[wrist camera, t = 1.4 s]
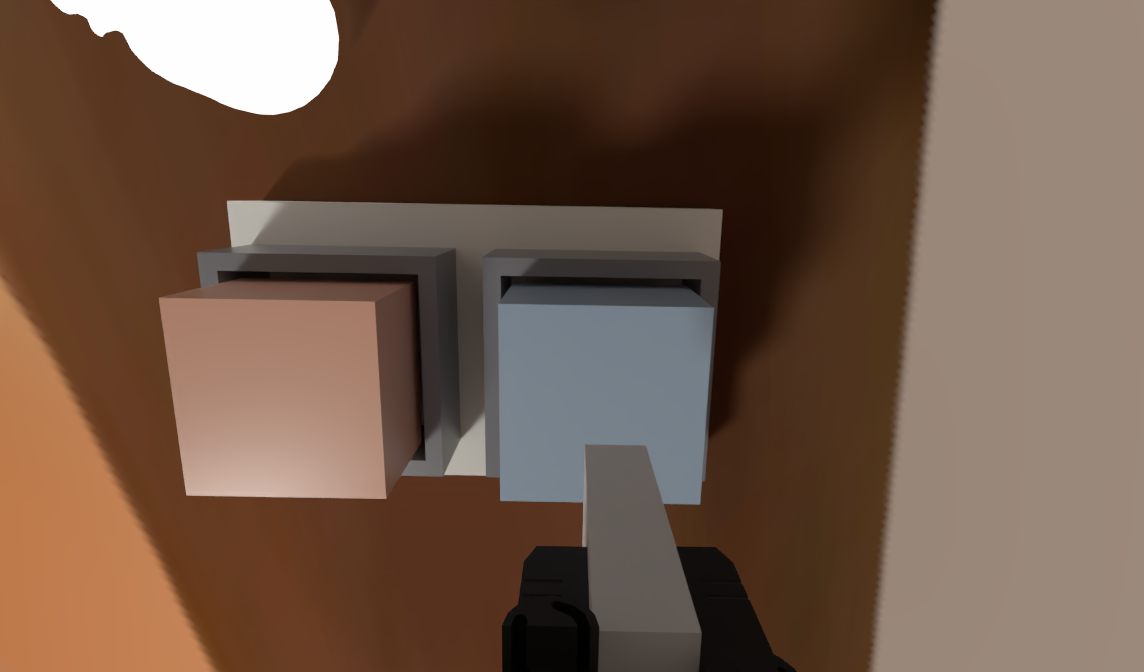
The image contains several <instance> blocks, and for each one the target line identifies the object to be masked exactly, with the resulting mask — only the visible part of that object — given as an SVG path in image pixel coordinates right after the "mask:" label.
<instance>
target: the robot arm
mask: <svg viewBox="0 0 1144 672" xmlns="http://www.w3.org/2000/svg"><path fill="white" fill-rule="evenodd" d="M502 669H503V672H796V670H795V669H794V668H793V667H792V666H790V665H789V664H788V663H786V662H785V661H784V660H782V659H781V658H780V657H778V656H776V655H774V654H773V652H772V650H771V647H770V645H769V643H768V641H767V638H766V636H765V634H764V632H763V629H762V627H761V625H760V623H759V620H758V618H757V616H756V614H755V611H754V609H753V607H752V605H751V602H750V600H748V596H747V593H746V591H745V589H744V587H743V585H741V580H740V578H739V575H738V573H737V571H736V569H735V566H734V564H733V562H731V561H730V560H729V559H728V558H727V557H726V556H725V555H724V554H722V553H721V552H720V551H719V550H718V549H717V548H716V547H676V545H675V542H674V538H673V535H672V531H671V528H670V525H669V521H668V518H667V515H666V511H665V508H664V505H663V501H662V498H661V495H660V491H659V488H658V484H657V481H656V478H655V474H654V471H653V468H652V464H651V461H650V458H649V454H648V451H647V448H646V445H592V444H585V459H584V502H583V547H562V546H536V548H535V549H534V550H533V551H532V552H531V554H530V555H529V556H528V557H527V558H526V560H525V561H524V566H523V573H522V582H521V587H520V594H519V601H518V605H517V606H516V607H514V608H513V609H512V610H511V611H510V612H509V613H508V614H507V616H506V618H505V620H504V622H503V625H502Z"/></svg>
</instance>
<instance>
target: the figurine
mask: <svg viewBox="0 0 1144 672" xmlns="http://www.w3.org/2000/svg"><path fill="white" fill-rule="evenodd" d="M51 1H52V2H53V3H54V4H55V5H56V6H57V7H58V8H59V9H60V10H61V11H63V12H65V13H68V14H80V15H82V16H84V17H85V18H87V19H88V22H89V24H90V27H91V29H92V30H93V31H94V33H95V34H97V35H99V36H101V37H102V36H103V35H104V34H105V33H107V32H110V31H115V30H116V31H120V32H122V33H123V34H124V36H125V38H126V40H127V42H128V44H129V46H130V48H131V50H132V51H133V52H134V53H135V54H136V55H137V57H138V58H139V59H140V60H141V61H142V62H143V63H144V64H145V65H146V66H147V67H148V68H149V69H151V70H152V71H153V72H155V73H157V74H158V75H160V76H162V77H163V78H165V79H167V80H168V81H170V82H172V83H174V84H177V85H180V86H182V87H185V88H188V89H190V90H192V91H195V92H197V93H200V94H203V95H205V96H207V97H210V98H212V99H214V100H216V101H218V102H220V103H222V104H225V105H227V106H230V107H233V108H236V109H239V110H243V111H247V112H252V113H257V114H271V115H275V114H279V113H285V112H290V111H293V110H295V109H297V108H299V107H302V106H304V105H305V104H307V103H308V102H309V101H311V100H312V99H313V98H314V97H316V96H317V95H318V94H319V93H320V92H321V90H322V89H323V88H324V86H325V85H326V84H327V82H328V81H329V80H330V78H331V75H332V73H333V71H334V68H335V66H336V63H337V61H338V42H339V36H338V30H337V24H336V18H335V12H334V10H333V8H332V5H331V3H330V1H329V0H51Z"/></svg>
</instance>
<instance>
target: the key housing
mask: <svg viewBox="0 0 1144 672" xmlns="http://www.w3.org/2000/svg"><path fill="white" fill-rule="evenodd" d="M227 207H228V216H229V225H230V235H231V244H232V247H230V248H223V249H216V250H209V251H202V252H197V258H198V266H199V274H200V282H201V288H202V287H206V286H210V285H215V284H219V283H223V282H227V281H231V280H235V279H240V278H280V279H337V280H394V281H415V294H416V318H417V341H418V365H419V389H420V412H421V436H422V442H421V444H420V446H419V447H418V449H417V450H416V452H415V454H414V455H413V457H412V458H411V460H410V462H409V463H408V465H407V466H406V468H405V470H404V471H403V473H402V474H401V476H443V475H486V477H500V426H499V333H498V303H499V302H500V301H501V299H502V298H503V296H504V295H505V294H506V292H507V291H508V290H509V288H510V287H511V285H512V284H513V283H564V284H621V285H677V286H687V287H688V288H690V289H691V290H692V291H693V292H695V293H696V294H697V295H699V296H700V297H701V298H702V299H704V300H705V301H706V302H708V303H709V304H710V305H711V306H713V307H714V316H713V330H712V344H711V358H710V372H709V386H708V400H707V414H706V427H705V441H704V455H703V469H702V481H705V472H706V459H707V445H708V431H709V418H710V404H711V391H712V377H713V363H714V350H715V336H716V322H717V309H718V295H719V281H720V268H721V261H719V255H720V241H721V227H722V213H723V210H721V209H707V208H651V207H594V206H537V205H481V204H424V203H367V202H311V201H227Z"/></svg>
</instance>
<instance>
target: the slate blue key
mask: <svg viewBox="0 0 1144 672" xmlns="http://www.w3.org/2000/svg"><path fill="white" fill-rule="evenodd" d="M713 316H714V307H713V306H711V305H710V304H709V303H708V302H706V301H705V300H704V299H702V298H701V297H700V296H699V295H697V294H696V293H695V292H693V291H692V290H691V289H690V288H688V287H687V286H677V285H621V284H564V283H513V284H512V285H511V287H510V288H509V290H508V291H507V292H506V294H505V295H504V296H503V298H502V299H501V301H500V302H499V303H498V333H499V426H500V501H539V502H584V459H585V444H592V445H646V448H647V451H648V454H649V458H650V461H651V464H652V468H653V471H654V474H655V478H656V481H657V484H658V488H659V491H660V495H661V498H662V501H663V504H700V497H701V483H702V469H703V455H704V441H705V427H706V414H707V400H708V386H709V372H710V358H711V344H712V330H713Z"/></svg>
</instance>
